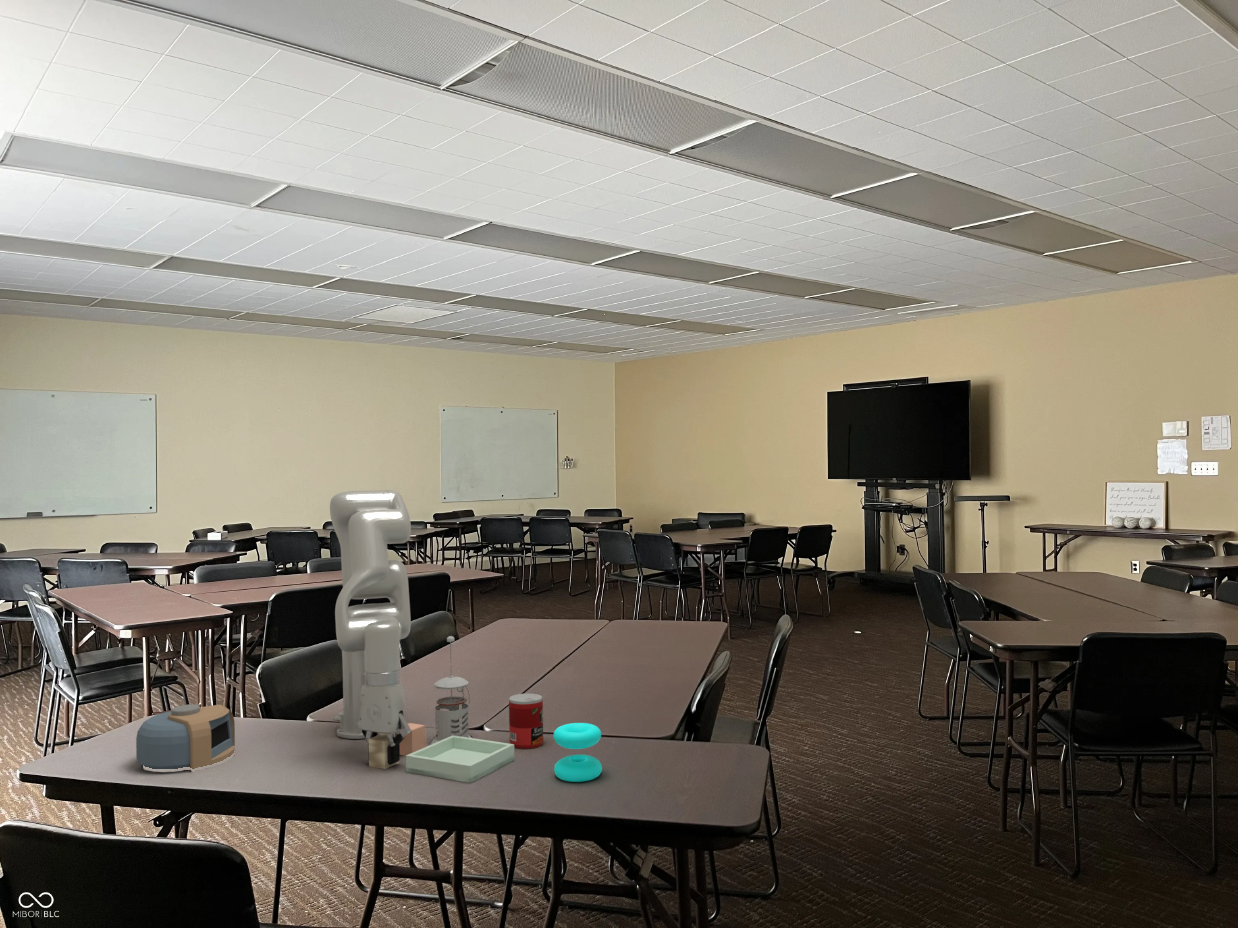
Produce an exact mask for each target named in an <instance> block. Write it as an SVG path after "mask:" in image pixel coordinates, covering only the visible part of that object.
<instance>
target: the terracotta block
mask: <svg viewBox="0 0 1238 928" xmlns="http://www.w3.org/2000/svg"><path fill="white" fill-rule="evenodd" d="M407 724H408V725H409V727H410V729H411V732H410V733H409V734H408V735H407V736H406V737H405V738H404V739H403V740H402V743H400V756H405V757H406V755H409V754H411V753H413V752H415V751H418V750H420V749H422V748H425V747H426V725H425V724H419V723H413V722H412V723H411V722H408V723H407ZM400 732H401V729H400Z"/></svg>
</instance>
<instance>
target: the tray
mask: <svg viewBox="0 0 1238 928" xmlns="http://www.w3.org/2000/svg"><path fill="white" fill-rule="evenodd" d="M513 761H515V748H514V744H510V743H509V742H508V743H507V742H501V741H493V740H486V739H482V738H481V739H479V738H473V737H472V738H467V737H460V736H450V737H448V738H446V739H443V740H441V741H439V742H436V743H434V744H432V743H431V744H430V745H427V746H425V748H422V749H420V750H418V751H415V752H413V753H411V754H409V755H406V756H405V769H406V770H405V771H406V773H409V774H410V773H411V774H416V775H422V776H427V777H433V778H438V779H445V780H451V781H455V782H462V783H468V784H471V783H474V782H476V781H478V780H479V779H481V778H483V777H485V776H487V775H490V774H491V773H493V772H495V771H497V770H499V769H501V768H502V767H504V766H506V765H508V764H510V763H512V762H513Z"/></svg>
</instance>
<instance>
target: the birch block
mask: <svg viewBox="0 0 1238 928" xmlns="http://www.w3.org/2000/svg"><path fill="white" fill-rule="evenodd" d="M393 735H394V738H395V734H393ZM388 746H390V744H389V739H388V735H387V734H380V735H378V736H375V737H372V738H370V739H369V761H368V767H371V768H377V769H383V770H385V769H389V768H390V767H393V766H395V765H398V764H400V760H399V761H398V762H396V763H394V764H391V765H390V764H388V750H387V748H388Z"/></svg>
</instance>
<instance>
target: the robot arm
mask: <svg viewBox="0 0 1238 928" xmlns="http://www.w3.org/2000/svg"><path fill="white" fill-rule="evenodd" d="M409 514H410V513H409V511H408V508H407V505H406V503H405V501H404V499H403V497H402V495H401V494H400V493H399V492H398V491H396V490H390V489H389V490H384V489H383V490H352V491H350V490H349V491H344V492H339V493H336V494H335V495H333V496H332V498H331V499H330V501H329V515H330V520H331V524H332V527H333V529H334V532H335V534H336V537H337V539H338V543H339V545H340V559H341V577H342V589H341V591H340V592H339V594H338V596H337V599H336V603H335V608H334V609H335V610H334V616H335V617H334V619H335V634H336V635H335V636H336V642H337V645H338V647H339V648H340V650H341V656H342V657H341V658H342V659H341V660H342V661H341V662H342V695H343V696H342V697H343V698H342V700H343V701H342V702H343V703H342V704H343V708H342V709H343V711H339V712H337V714H336V715H335V716H334V717H333V721H334V722H340V726H339V727H338V728H337V729H336V734H337V736H338V737H340V738H342V739H348V740H358V739H359V740H360V739H365V740H364V741H365V742H366V743H367V755H368V758H367V761H368V762H369V739H370V738H372V737H375V736H378V735H380V734H387V735H388V739H389V744H390V746H388V748H387V750H388V764H390V765H391V764H394V763H396V762H398V761H399V762H400V760H401V759H400V758H401V757H400V756H401V755H400V743H402V740H403V739H404V738H405V737H406V736H407V735H408V734H409V733H410V732H411V729H410V727H409V725H408V724H409V723H408V722H407V708H406V707H407V706H406V699H405V694H404V693H405V692H404V687H403V684H402V683H401V653H400V652H401V651H400V650H401V649H400V646H401V645H400V641H401V640H403V639H406V638H407V637H408V636H409V634H410V632H411V628H412V627H411V624H412V623H411V622H412V621H411V619H412V618H411V603H410V592H409V591H410V590H409V589H410V588H409V577H408V572H407V569H406V566H405V564H404V563H403V562H402V561H400V560H398V559H389V554H388V544H389V545H391V544H393V545H394V544H405V543H406V542H408V541H409V539H410V537H411V534H412V525H411V518H410V515H409ZM383 598H386V599H388V600H389V601H390V602H383V603H381V602H380V603H365V604H355V605H350V601H351V600H369V599H370V600H371V599H383ZM349 605H350V606H349ZM400 729H401V732H400ZM394 735H395V738H394Z"/></svg>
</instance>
